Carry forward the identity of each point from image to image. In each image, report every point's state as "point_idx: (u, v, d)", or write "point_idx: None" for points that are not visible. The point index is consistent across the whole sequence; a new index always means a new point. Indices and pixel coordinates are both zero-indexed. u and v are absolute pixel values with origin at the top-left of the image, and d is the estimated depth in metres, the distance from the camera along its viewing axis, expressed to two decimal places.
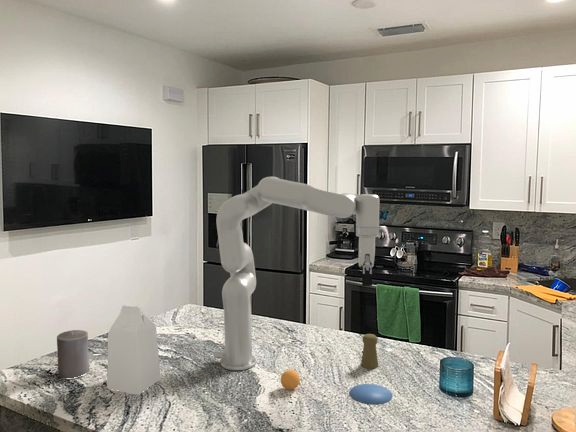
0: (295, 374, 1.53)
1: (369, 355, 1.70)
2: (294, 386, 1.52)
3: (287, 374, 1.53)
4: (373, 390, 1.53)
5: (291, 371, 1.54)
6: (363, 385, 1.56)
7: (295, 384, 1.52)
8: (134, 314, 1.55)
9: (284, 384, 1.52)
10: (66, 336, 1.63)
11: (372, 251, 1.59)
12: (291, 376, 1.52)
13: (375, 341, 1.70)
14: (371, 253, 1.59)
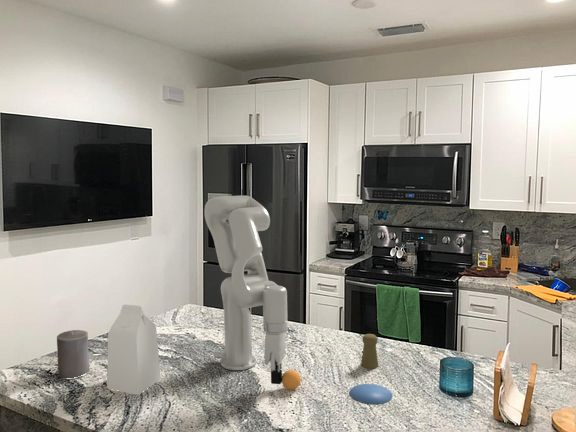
0: (296, 374, 1.53)
1: (369, 355, 1.70)
2: (295, 386, 1.52)
3: (288, 374, 1.53)
4: (373, 390, 1.53)
5: (292, 371, 1.54)
6: (363, 385, 1.56)
7: (296, 384, 1.52)
8: (134, 314, 1.55)
9: (285, 384, 1.52)
10: (66, 336, 1.63)
11: (277, 349, 1.49)
12: (292, 376, 1.52)
13: (375, 341, 1.70)
14: (276, 352, 1.49)
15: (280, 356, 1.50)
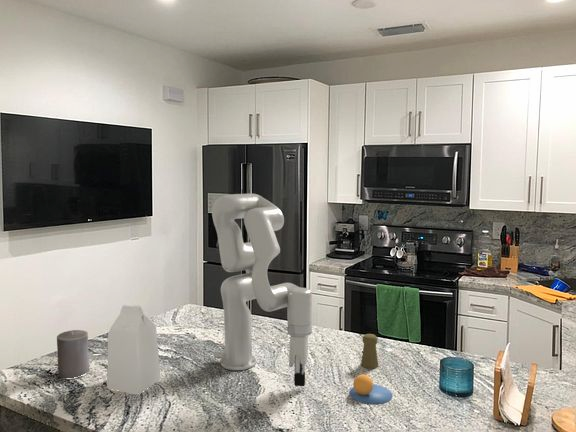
0: (372, 388, 1.49)
1: (369, 355, 1.70)
2: (362, 394, 1.49)
3: (368, 381, 1.49)
4: (373, 390, 1.53)
5: (372, 382, 1.50)
6: None
7: (365, 394, 1.49)
8: (134, 314, 1.55)
9: (359, 385, 1.48)
10: (66, 336, 1.63)
11: (302, 352, 1.48)
12: (370, 387, 1.48)
13: (375, 341, 1.70)
14: (301, 354, 1.48)
15: (305, 358, 1.49)
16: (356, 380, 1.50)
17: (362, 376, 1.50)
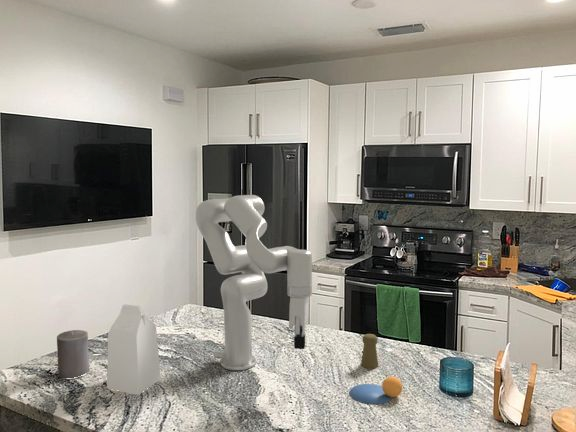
0: (382, 388, 1.49)
1: (369, 355, 1.70)
2: (391, 383, 1.47)
3: (388, 395, 1.48)
4: (373, 390, 1.53)
5: (384, 392, 1.49)
6: (363, 385, 1.56)
7: (388, 384, 1.47)
8: (134, 314, 1.55)
9: (397, 393, 1.47)
10: (66, 336, 1.63)
11: (302, 313, 1.47)
12: (385, 392, 1.48)
13: (375, 341, 1.70)
14: (301, 315, 1.47)
15: (305, 320, 1.48)
16: None
17: None
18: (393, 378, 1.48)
